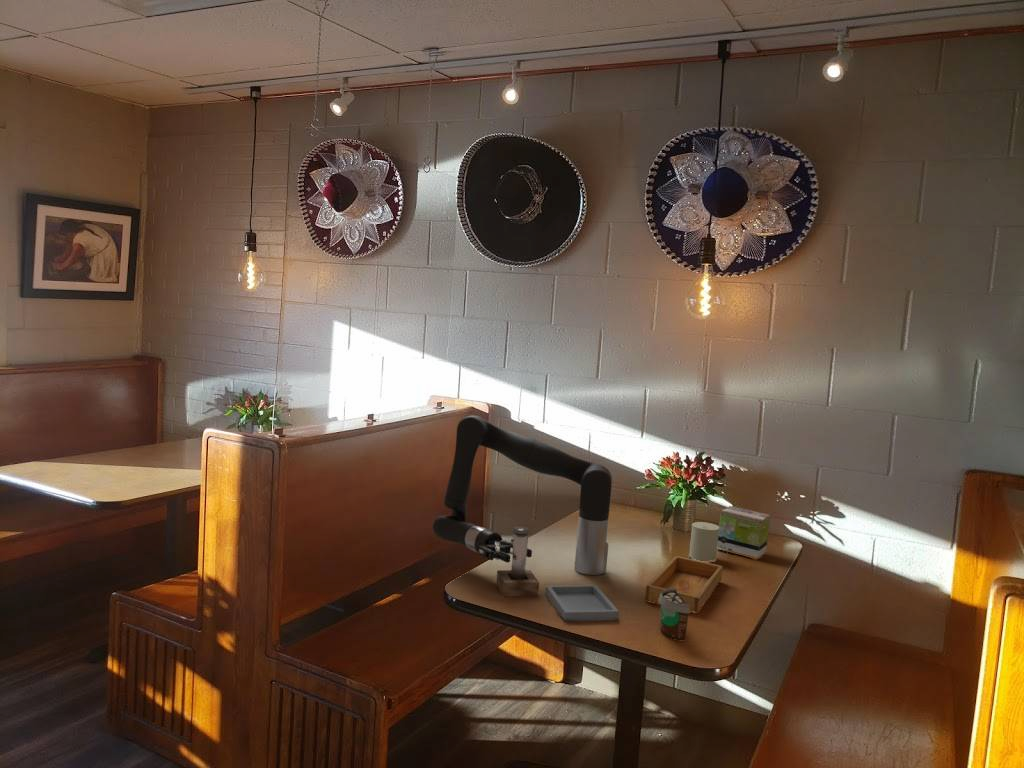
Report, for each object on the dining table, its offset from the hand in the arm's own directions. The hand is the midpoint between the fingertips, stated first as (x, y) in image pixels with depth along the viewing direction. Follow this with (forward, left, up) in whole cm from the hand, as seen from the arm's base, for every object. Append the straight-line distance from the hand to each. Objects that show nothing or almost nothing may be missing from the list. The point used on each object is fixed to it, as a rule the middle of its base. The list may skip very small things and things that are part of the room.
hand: (520, 556), depth 226 cm
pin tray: (-15, +13, -10) cm, 22 cm away
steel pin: (0, 0, -10) cm, 10 cm away
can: (-71, -25, -10) cm, 76 cm away
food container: (-33, +31, -10) cm, 46 cm away
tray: (-51, +3, -11) cm, 52 cm away
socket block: (0, 0, -10) cm, 10 cm away
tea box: (-89, -31, -10) cm, 95 cm away
